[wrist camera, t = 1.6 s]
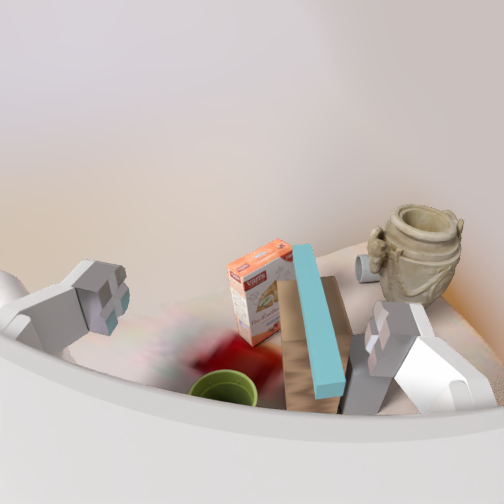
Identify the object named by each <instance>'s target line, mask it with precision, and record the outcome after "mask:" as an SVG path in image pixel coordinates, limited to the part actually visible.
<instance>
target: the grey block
mask: <svg viewBox="0 0 504 504" xmlns="http://www.w3.org/2000/svg"><path fill="white" fill-rule="evenodd" d="M369 355H370V353H369V352H368V351H367V350H366V348H365V334H358V335H352V339H351V345H350V351H349V357H348V362H347V367H346V372H345V380H346V383H345V387H344V392H343V396H340V401H339V403H340V409H341V414H347V415H373V414H377V413H378V411H379V409H380V406H381V404H382V402H383V399H384V397H385V395H386V392H387V390H388V388H389V385H390V383H391V380H392V378H393V377H381V376H370V372H369V366H368V357H369Z"/></svg>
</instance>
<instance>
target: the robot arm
mask: <svg viewBox="0 0 504 504" xmlns="http://www.w3.org/2000/svg"><path fill="white" fill-rule="evenodd" d="M125 278H126V272H125V268H124V267H123V266H121V265H116V264H110V263H105V262H100V261H95V260H89V259H85V260H82V261H81V262H80V263H79V264H78V265H77V266H76V267H75V268H74V269H73V270H72V272H70V274H69V275H68V276H67V277H66V278H65V279H64V280H63V281H62V282H61V283H60V284H53V285H51V286H48V287H46V288H44V289H41V290H39V291H37V292H34V293H32V294H30V293H29V291H28V290H27V289H26V287H25V286H24V284H23V283H22V282H21V281H20V280H19V279H18V278H17V277H15V276H13V275H11V274H10V273H7V272H5V271H2V270H0V504H504V405H502V406H498V405H497V402H496V399H495V397H494V394H493V391H492V389H491V386H490V384H489V381H488V379H487V378H486V377H485V376H484V375H483V374H482V373H481V372H479V371H478V370H477V369H476V368H475V367H474V366H473V365H471V364H470V363H469V362H468V361H467V360H466V359H465V358H463V357H462V356H461V355H460V354H459V353H458V352H456V351H455V350H454V349H453V348H452V347H451V346H449V345H448V344H447V343H446V342H445V341H443V340H442V339H441V338H440V337H436V336H435V334H434V331H433V329H432V326H431V324H430V322H429V319H428V317H427V315H426V312H425V310H424V308H423V305H421V304H420V303H408V302H406V303H401V302H390V301H379V300H378V301H377V302H376V304H375V306H374V309H373V313H374V318H372V319H371V320H370V321H369V322H368V325H367V328H366V332H365V348H366V350H367V351H368V352H369V353H370V355H369V357H368V366H369V372H370V376H381V377H395V378H394V379H395V380H396V381H397V383H398V384H399V385H400V387H401V388H402V389H403V391H404V392H405V393H406V394H407V396H408V397H409V398H410V400H411V401H412V402H413V404H414V405H415V406H416V408H417V409H418V410H419V412H420V413H421V414H410V415H347V414H326V413H311V412H299V411H289V410H279V409H270V408H262V407H255V406H248V405H241V404H235V403H228V402H222V401H217V400H211V399H206V398H201V397H196V396H191V395H186V394H181V393H177V392H172V391H168V390H164V389H160V388H156V387H152V386H148V385H144V384H140V383H136V382H133V381H129V380H125V379H122V378H118V377H115V376H112V375H108V374H105V373H102V372H99V371H96V370H93V369H90V368H86V367H84V366H81V365H78V364H77V362H76V361H75V359H74V358H73V357H72V355H71V353H70V351H69V350H68V348H67V346H69V345H70V344H72V343H73V342H75V341H76V340H78V339H79V338H81V337H82V336H84V335H85V334H87V333H88V331H90V332H94V333H98V334H102V335H107V336H110V335H111V333H112V332H113V330H114V329H115V327H116V326H117V324H118V320H117V317H119V316H121V315H123V314H124V313H125V311H126V310H127V308H128V303H129V295H130V294H129V288H128V287H127V286H126V284H125V283H124V280H125Z"/></svg>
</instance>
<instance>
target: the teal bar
mask: <svg viewBox="0 0 504 504" xmlns="http://www.w3.org/2000/svg"><path fill="white" fill-rule="evenodd" d="M292 249H293V263H294V269H295V274H296V280H297V286H298V291H299V297H300V303H301V309H302V315H303V321H304V327H305V333H306V339H307V345H308V352H309V358H310V365H311V371H312V378H313V385H314V392H315V399H323V398H331V397H338V396H343V392H344V387H345V383H346V380H345V376H344V371H343V367H342V362H341V358H340V354H339V350H338V345H337V341H336V337H335V333H334V329H333V325H332V321H331V317H330V313H329V309H328V305H327V301H326V297H325V294H324V290H323V286H322V282H321V279H320V275H319V271H318V268H317V264H316V261H315V257H314V254H313V250H312V246H311V244H305V245H293V246H292Z"/></svg>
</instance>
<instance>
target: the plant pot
mask: <svg viewBox="0 0 504 504" xmlns="http://www.w3.org/2000/svg"><path fill="white" fill-rule="evenodd" d="M188 395H191V396H196V397H201V398H206V399H211V400H217V401H222V402H228V403H235V404H241V405H248V406H256V403H257V390H256V387H255V385H254V383H253V382H252V380H251V379H250V378H249V377H247V376H246V375H244V374H243V373H241V372H238V371H234V370H218V371H213V372H210V373H208V374H206V375H204V376H202V377H201V378H199V379H198V380H197V381H196V382H195V383H194V384H193V386H192V387H191V389H190V391H189V393H188Z"/></svg>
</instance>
